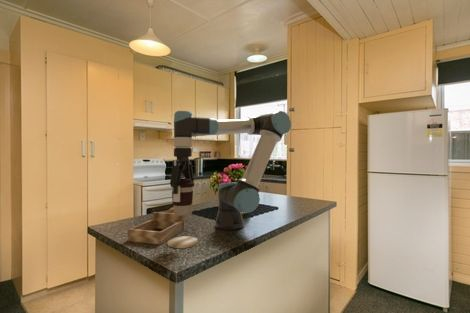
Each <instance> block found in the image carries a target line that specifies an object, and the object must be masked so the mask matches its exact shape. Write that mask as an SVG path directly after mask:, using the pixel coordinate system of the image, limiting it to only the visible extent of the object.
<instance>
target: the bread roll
mask: <svg viewBox="0 0 470 313" xmlns="http://www.w3.org/2000/svg"><path fill="white" fill-rule="evenodd" d="M166 213H174V208H173V207H171V208H169V209H168V210H167V212H166Z"/></svg>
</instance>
